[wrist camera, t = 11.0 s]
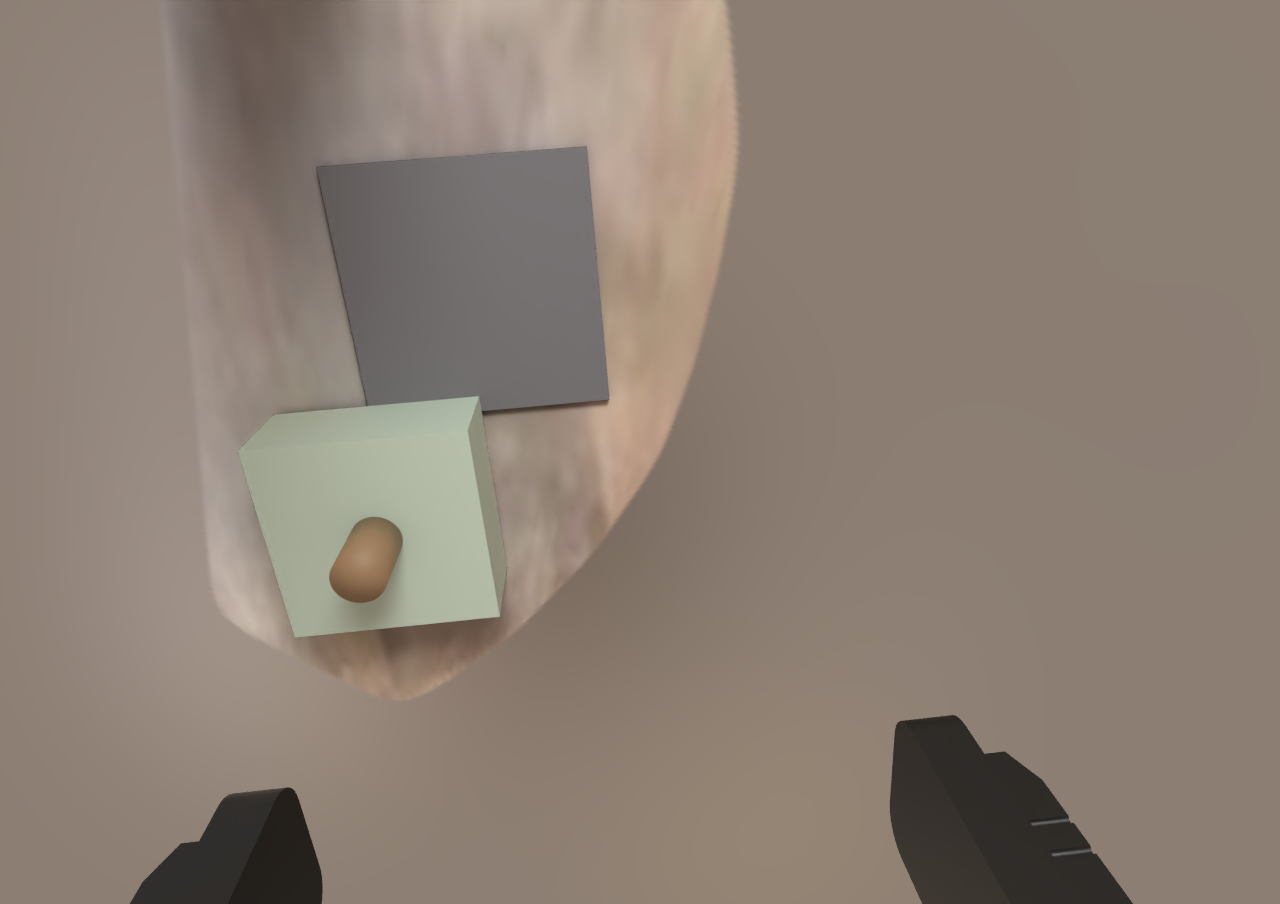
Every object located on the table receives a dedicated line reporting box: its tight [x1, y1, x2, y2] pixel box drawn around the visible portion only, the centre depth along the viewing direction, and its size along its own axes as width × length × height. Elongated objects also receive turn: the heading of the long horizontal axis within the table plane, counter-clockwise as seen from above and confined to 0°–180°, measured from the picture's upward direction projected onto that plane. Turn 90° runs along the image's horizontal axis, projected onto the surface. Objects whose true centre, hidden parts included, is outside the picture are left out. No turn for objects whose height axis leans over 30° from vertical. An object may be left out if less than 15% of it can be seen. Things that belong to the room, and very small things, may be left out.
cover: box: [237, 396, 507, 638], centre depth 43 cm, size 12×12×9 cm
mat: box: [317, 146, 609, 411], centre depth 43 cm, size 14×14×1 cm
